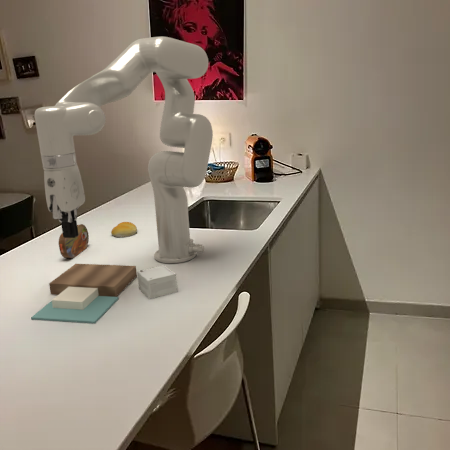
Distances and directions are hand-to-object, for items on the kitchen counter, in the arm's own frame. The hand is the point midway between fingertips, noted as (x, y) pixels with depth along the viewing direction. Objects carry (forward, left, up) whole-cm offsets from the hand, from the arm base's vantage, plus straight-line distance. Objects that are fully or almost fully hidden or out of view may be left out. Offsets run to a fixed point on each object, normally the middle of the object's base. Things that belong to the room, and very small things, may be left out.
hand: (71, 236), depth 124 cm
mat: (-2, +5, -16) cm, 17 cm away
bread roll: (+10, -52, -17) cm, 56 cm away
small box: (-18, -7, -17) cm, 26 cm away
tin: (+18, -32, -17) cm, 40 cm away
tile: (0, +2, -16) cm, 16 cm away
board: (0, -9, -16) cm, 19 cm away
